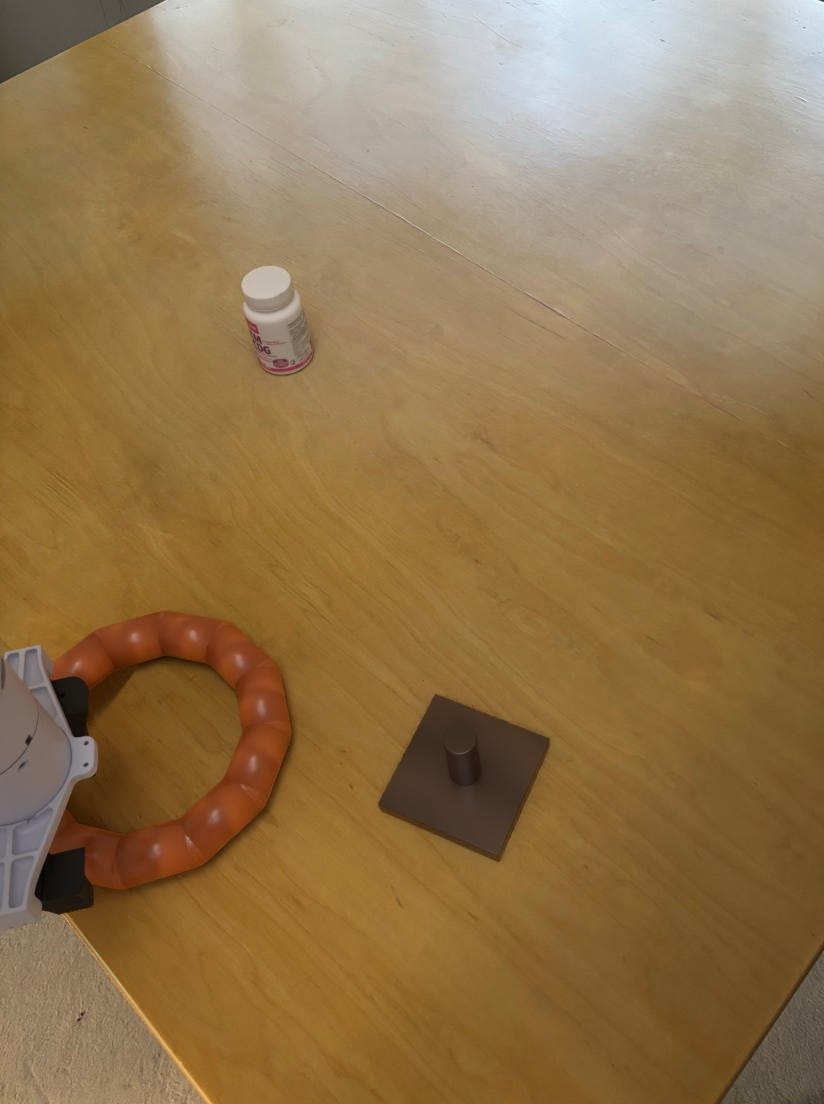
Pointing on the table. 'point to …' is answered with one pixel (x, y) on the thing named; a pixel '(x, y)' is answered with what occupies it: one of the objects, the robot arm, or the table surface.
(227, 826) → the ring
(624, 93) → the table surface
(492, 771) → the square peg base
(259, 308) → the pill bottle
